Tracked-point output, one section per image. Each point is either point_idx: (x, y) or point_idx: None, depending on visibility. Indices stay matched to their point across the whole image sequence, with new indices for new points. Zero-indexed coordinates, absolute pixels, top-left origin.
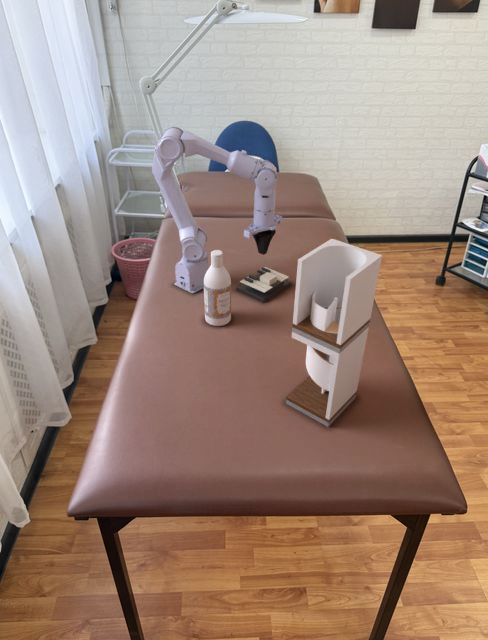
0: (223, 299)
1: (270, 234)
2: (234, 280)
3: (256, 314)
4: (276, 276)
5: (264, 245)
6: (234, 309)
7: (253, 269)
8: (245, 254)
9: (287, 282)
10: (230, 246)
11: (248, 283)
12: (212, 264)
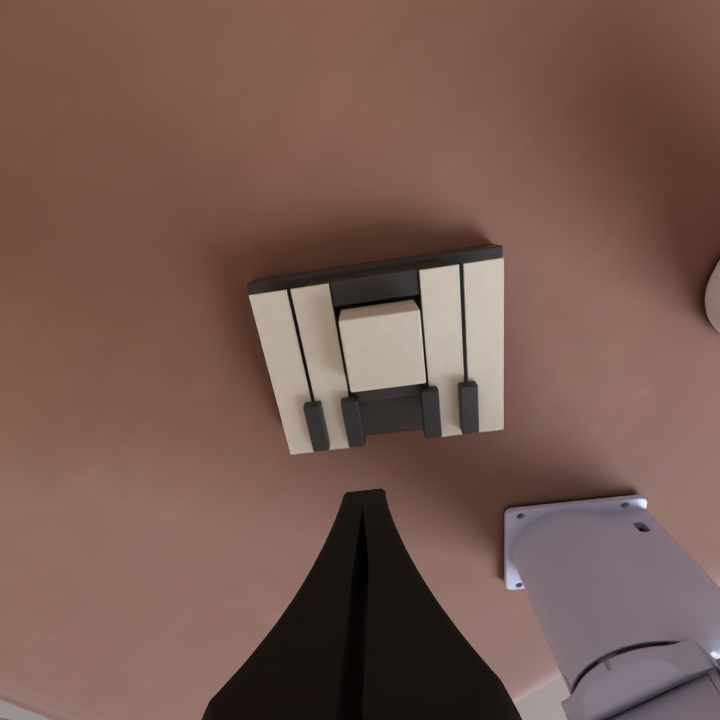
0: None
1: (338, 718)
2: (434, 472)
3: (610, 181)
4: (345, 320)
5: (411, 565)
6: (637, 296)
7: (303, 488)
8: (249, 580)
9: (268, 290)
10: (259, 641)
11: (488, 387)
12: None
